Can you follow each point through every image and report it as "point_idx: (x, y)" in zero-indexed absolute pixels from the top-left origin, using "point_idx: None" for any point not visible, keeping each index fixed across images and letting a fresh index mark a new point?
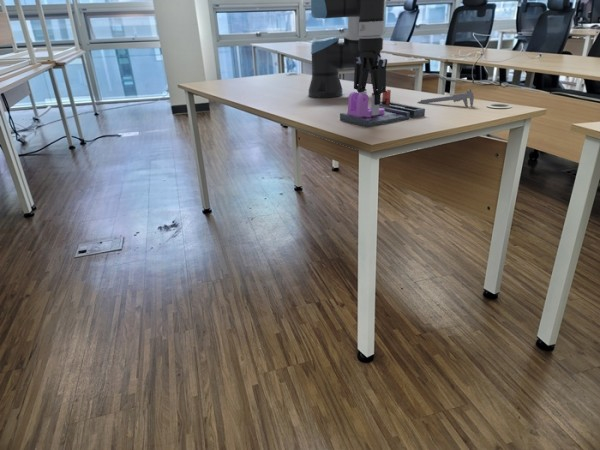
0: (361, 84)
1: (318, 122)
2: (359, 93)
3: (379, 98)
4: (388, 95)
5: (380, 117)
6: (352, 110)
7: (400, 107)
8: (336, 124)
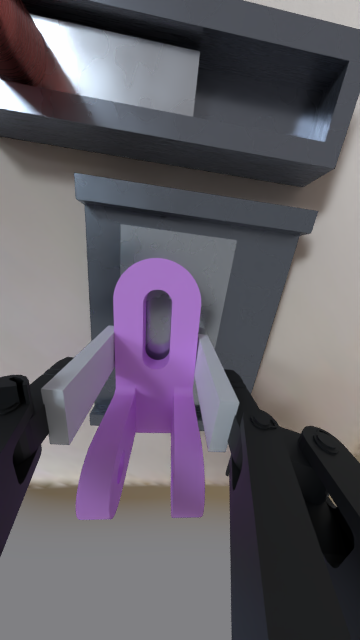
0: (6, 531)
1: (84, 455)
2: (63, 436)
3: (248, 400)
4: None
5: (221, 337)
6: (139, 426)
7: (211, 132)
8: (142, 439)
